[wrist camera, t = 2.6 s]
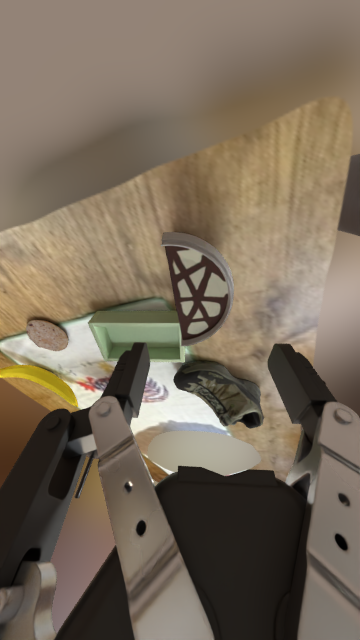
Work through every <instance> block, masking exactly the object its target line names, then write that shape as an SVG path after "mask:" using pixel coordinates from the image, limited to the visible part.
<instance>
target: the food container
mask: <svg viewBox="0 0 360 640" xmlns="http://www.w3.org/2000/svg"><path fill="white" fill-rule="evenodd" d="M161 246H165V249H166V256H167V259H168V264H169V270H170V276H171V281H172V287H173V293H174V299H175V305H176V309H177V314H178V320H179V325H180V330H181V347H182V346H189V345H193V344H197V343H199V342H202V341H204V340H206V339H208V338H209V337H211V336H212V335H213V334H215V333H216V332H217V331H218V330H219V329H220V328H221V327H222V325H223V324H224V323H225V321H226V319H227V317H228V315H229V313H230V310H231V307H232V304H233V296H234V283H233V277H232V273H231V270H230V268H229V266H228V263H227V262H226V260H225V259H224V257H223V256H222V255H221V254H220V252H219V251H218V250H217V249H216V248H215V247H213V246H212V245H210V244H209V243H208V242H206V241H204V240H202V239H200V238H198V237H196V236H193V235H190V234H186V233H178V232H165V233H163V236H162V244H161Z"/></svg>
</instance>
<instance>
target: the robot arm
mask: <svg viewBox="0 0 360 640" xmlns="http://www.w3.org/2000/svg"><path fill="white" fill-rule="evenodd" d="M149 367H150V357H149V352H148V347H147V343H146V342H134V343H133V346H132V348H131V350H126V351H125V352H124V353H123V354H122V355H121V356H120V358H119V360H118V362H117V365H116V367H115V369H114V372H113V374H112V376H111V379H110V381H109V383H108V386H107V388H106V390H105V393H104V395H103V396H102V398H100V399H98V400H97V401H96V402H95V403H94V404H93V405H92V406H91V407H89V408H86V409H82V410H79V411H76V412H72V413H70V412H69V411H68V410H67V409H57V410H54V411H52V412H50V413H49V414H48V415H46V416H45V417H44V418H43V419H42V420H41V422H40V423H39V425H38V426H37V428H36V430H35V431H34V433H33V435H32V436H31V438H30V440H29V441H28V443H27V445H26V446H25V448H24V450H23V451H22V453H21V455H20V456H19V458H18V460H17V461H16V463H15V465H14V466H13V469H12V470H11V472H10V473H9V475H8V477H7V478H6V480H5V482H4V483H3V485H2V487H1V489H0V640H360V417H359V416H358V415H357V414H356V413H355V412H354V411H353V410H352V409H350V408H349V407H347V406H345V405H343V404H341V403H338V402H337V401H336V400H335V398H334V397H333V395H332V394H331V392H330V391H329V389H328V388H327V387H326V385H325V384H324V382H323V381H322V379H321V378H320V377H319V375H317V372H316V371H315V369H313V366H312V365H311V364H310V362H309V361H308V359H307V358H305V357H304V356H303V355H302V354H300V353H299V352H295V350H294V349H293V347H292V346H291V345H290V344H275V345H274V346H273V349H272V351H271V354H270V356H269V359H268V369H269V371H270V374H271V376H272V378H273V381H274V383H275V385H276V387H277V390H278V392H279V394H280V396H281V399H282V401H283V403H284V405H285V408H286V410H287V412H288V414H289V417H290V419H291V421H292V424H301V425H302V427H303V430H302V432H301V436H300V440H299V444H298V448H297V452H296V456H295V460H294V463H293V466H292V468H291V470H290V472H289V474H288V476H287V479H286V482H283V481H281V480H279V479H277V478H275V474H274V471H271V470H250V469H249V470H246V471H243V472H240V473H236V474H233V475H230V476H223V475H220V474H218V473H215V472H212V471H210V470H207V469H205V468H202V467H188V466H178V472H175V473H172V474H170V475H168V476H167V477H165V478H164V479H162V480H161V481H160V482H159V483H158V484H157V485H156V486H155V485H154V482H153V480H152V477H151V475H150V473H149V470H148V468H147V466H146V463H145V461H144V459H143V456H142V454H141V452H140V449H139V447H138V445H137V442H136V440H135V437H134V435H133V433H132V430H131V428H130V423H131V419H132V417H133V418H138V415H139V410H140V406H141V402H142V397H143V393H144V389H145V384H146V380H147V376H148V371H149ZM96 449H97V452H98V456H99V462H98V470H99V475H100V479H101V484H102V488H103V492H104V496H105V500H106V504H107V509H108V513H109V517H110V521H111V526H112V530H113V534H114V538H115V542H116V545H115V547H114V548H113V550H112V552H111V553H110V554H109V556H108V557H107V559H106V560H105V562H104V563H103V565H102V566H101V568H100V569H99V571H98V572H97V574H96V575H95V577H94V578H93V580H92V581H91V583H90V584H89V586H88V587H87V589H86V590H85V592H84V593H83V595H82V596H81V598H80V599H79V601H78V602H77V604H76V606H75V607H74V609H73V610H72V611H71V613H70V615H69V616H68V618H67V619H66V620H65V622H64V623H63V625H62V627H61V628H60V630H59V632H58V633H56V632H55V629H54V627H53V623H52V604H53V599H54V594H55V590H56V583H57V575H56V569H55V567H54V565H53V564H52V563H51V562H50V560H51V557H52V554H53V552H54V549H55V546H56V543H57V540H58V537H59V534H60V531H61V528H62V525H63V522H64V519H65V517H66V514H67V511H68V508H69V505H70V502H71V499H72V496H73V493H74V490H75V487H76V485H77V482H78V479H79V476H80V473H81V469H82V467H83V464H84V461H85V458H86V455H87V452H90V451H93V450H96Z"/></svg>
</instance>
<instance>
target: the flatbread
mask: <svg viewBox="0 0 360 640" xmlns="http://www.w3.org/2000/svg"><path fill="white" fill-rule="evenodd" d="M26 330H27V334H28V336H29V338H30V339H31V340H32V341H33V342H34V343H35V344H36V345H37V346H38V347H42V348H45V349H49V350H53V351H60V350H63V349H65V348H66V347H67V345H68V337H67V335H66V334H65V332H64V331H63V330H62V329H61V328H59V327H58V326H56V325H54V324H52V323H50V322H47V321H44V320H31V321H30V322H28V324H27V328H26Z"/></svg>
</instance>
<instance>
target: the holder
mask: <svg viewBox="0 0 360 640" xmlns="http://www.w3.org/2000/svg"><path fill="white" fill-rule="evenodd" d="M88 324H89V327H90V329H91V331H92V333H93V336H94V338H95V340H96V342H97V345H98V347H99V349H100V351H101V354H102V356H103V358H104V360H105V361H118V360H119V358H120V356H121V355H122V354H123V353H124V352H125V351H126V350H131V348H132V346H133V343H134V342H146V343H147V347H148V352H149V357H150V362H185V346H182V347H181V330H180V325H179V320H178V314H177V311H97V312H96V313H95V314H94V316H93V317H92V318H91V320H90V321H89V322H88Z"/></svg>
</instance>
